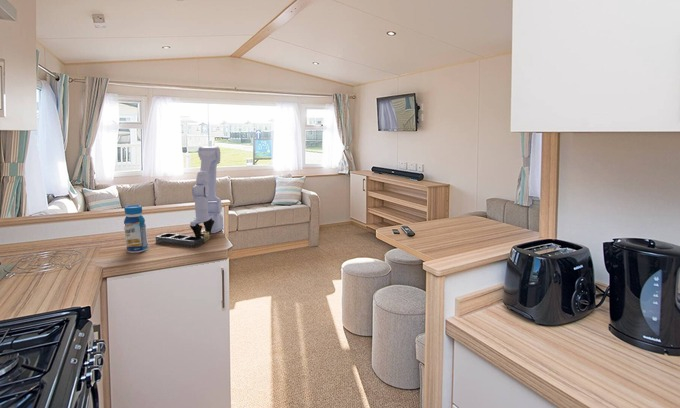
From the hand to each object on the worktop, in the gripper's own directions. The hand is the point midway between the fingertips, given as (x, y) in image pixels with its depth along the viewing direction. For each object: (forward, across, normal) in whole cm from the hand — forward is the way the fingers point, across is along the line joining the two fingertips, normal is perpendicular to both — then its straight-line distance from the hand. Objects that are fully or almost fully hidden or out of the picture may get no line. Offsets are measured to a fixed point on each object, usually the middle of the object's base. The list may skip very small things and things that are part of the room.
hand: (203, 237), depth 188 cm
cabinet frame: (+2, +8, -7) cm, 11 cm away
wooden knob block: (+2, 0, 0) cm, 2 cm away
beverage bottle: (+2, +23, -17) cm, 29 cm away
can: (+2, +17, -22) cm, 28 cm away
